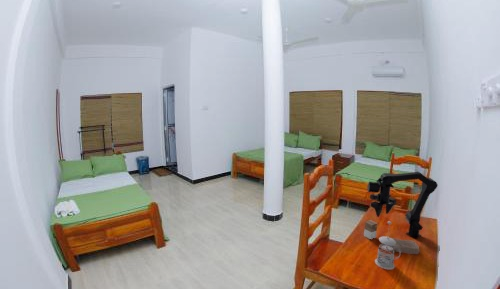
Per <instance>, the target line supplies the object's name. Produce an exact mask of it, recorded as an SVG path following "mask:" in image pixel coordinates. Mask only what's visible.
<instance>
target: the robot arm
mask: <svg viewBox="0 0 500 289" xmlns="http://www.w3.org/2000/svg"><path fill="white" fill-rule="evenodd" d="M411 180H419V181H420V182H421V191H420V193H419V196H417V199H416V201H415V204H414V205H413V208H412V209H411V210H407V211H406V214H405V220H406V221H407V223H408V224H409V227H408V232H406V233H405V234H406V235H407V236H409V237H412V238H413V239H418V238H420V237H422V235H421V234H420V231H422V229H423V225H421V223H420V221H421V213H422V212H423V209H424V207H425V205H426V203H427V201H428V199H429V196H430V195H431V194H432V193H434V192H435V191H436V189H437V188H438V183H437V182H436V180H434V179H433V178H431V177H427V176H425V175H424V174H423V173H422V172H420V171H414V172H413V171H412V172H404V173H403V172H402V173H391V172H390V173H389V172H388V173H387V172H384V173H382V174H380V177H378V179H377V180H375V181H368V183H367V188H366V189H367V193H371V194H369V199H370V200H371V201H373V202H371V203H370V207H371V208H373V209H374V211H375V214H376V217H377V218H379V217H380V215H381V213H382V211H383V207H384V205H385V214H389V213H390V212H391V210H392V209H393V207H395V205H397V203H398V202H397V200H396V199H395V198H393V197H392V195H391V188H395V186H394V185H393V184H395V183H396V182H403V181H411ZM372 193H373V194H372ZM374 193H376V194H374Z"/></svg>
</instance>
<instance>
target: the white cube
mask: <svg viewBox="0 0 500 289" xmlns="http://www.w3.org/2000/svg"><path fill="white" fill-rule="evenodd" d="M363 236H364V237H365V238H367V239H369V240H370V239H371V240H373V238H374V239H375V238H377V231H374V232H370V231H368V230H366V229H365V228H364V232H363Z"/></svg>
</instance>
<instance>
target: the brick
mask: <svg viewBox="0 0 500 289" xmlns="http://www.w3.org/2000/svg"><path fill="white" fill-rule="evenodd" d="M391 238H392V237H391ZM392 239H393V240H395V242H396V244H395V245H397V246H398V247H399V248H400V249H399V248H398V247H397V246H396V247H397V248H398V249H399V250H398V249H397V248H396V247H395V245H393V246H392V247H393V248H394V247H395V249H394V252H396V253H400V252H399V251H400V250H401V253H403V254H408V255H409V254H411V255H418V254H419V253H420V247H419V245H418V243H416V241H415V240H409V239H400V238H392Z"/></svg>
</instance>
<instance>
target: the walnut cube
mask: <svg viewBox="0 0 500 289" xmlns="http://www.w3.org/2000/svg"><path fill="white" fill-rule="evenodd" d="M365 229H366V230H368V231H370V232H374V231H376V232H377V230H378V223H377V222H375V221H373V220H371V219H369V220H366V221H365V222H364V230H365Z"/></svg>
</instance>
